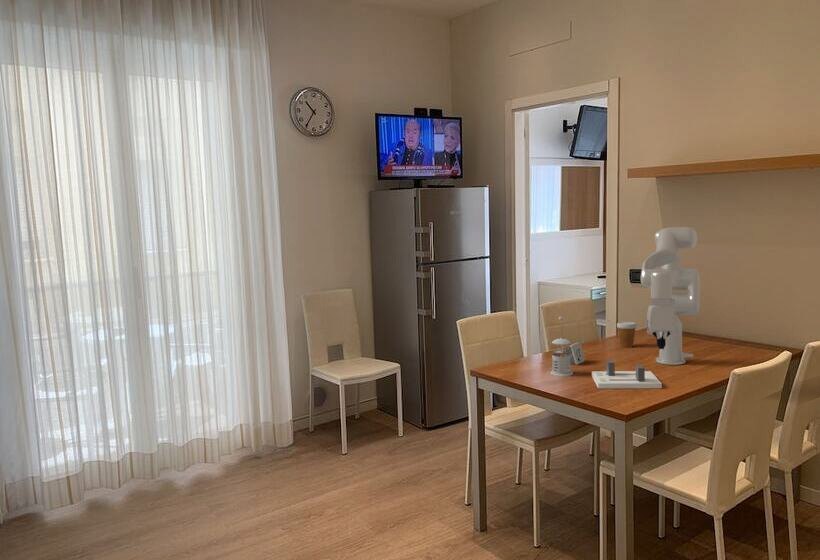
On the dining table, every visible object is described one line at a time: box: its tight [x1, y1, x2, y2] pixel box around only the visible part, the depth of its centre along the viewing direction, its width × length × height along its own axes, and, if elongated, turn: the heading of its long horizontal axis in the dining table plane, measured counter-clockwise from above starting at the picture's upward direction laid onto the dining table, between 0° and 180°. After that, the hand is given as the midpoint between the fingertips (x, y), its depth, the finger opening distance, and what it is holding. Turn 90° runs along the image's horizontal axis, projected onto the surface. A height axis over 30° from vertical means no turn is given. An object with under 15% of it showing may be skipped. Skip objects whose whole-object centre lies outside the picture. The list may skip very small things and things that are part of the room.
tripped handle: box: [635, 364, 646, 381], centre depth 255 cm, size 2×5×5 cm, turn 172°
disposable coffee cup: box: [616, 321, 637, 348], centre depth 324 cm, size 10×10×12 cm
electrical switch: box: [565, 341, 586, 366], centre depth 296 cm, size 9×5×9 cm, turn 141°
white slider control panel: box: [591, 359, 663, 389], centre depth 260 cm, size 24×19×8 cm
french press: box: [550, 316, 574, 377], centre depth 278 cm, size 10×12×25 cm
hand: (661, 348), depth 252 cm, fingers closed
